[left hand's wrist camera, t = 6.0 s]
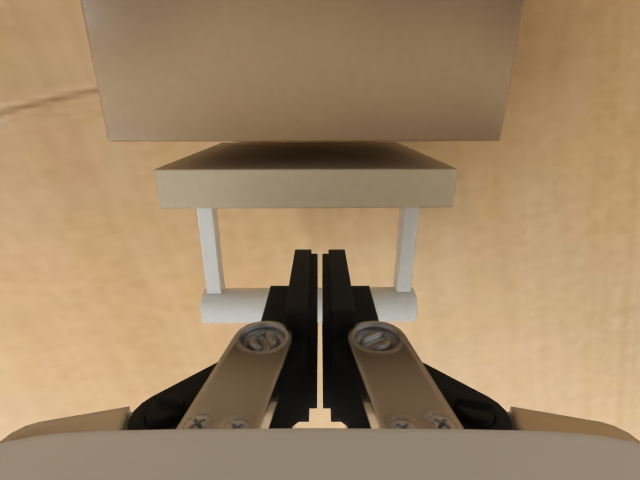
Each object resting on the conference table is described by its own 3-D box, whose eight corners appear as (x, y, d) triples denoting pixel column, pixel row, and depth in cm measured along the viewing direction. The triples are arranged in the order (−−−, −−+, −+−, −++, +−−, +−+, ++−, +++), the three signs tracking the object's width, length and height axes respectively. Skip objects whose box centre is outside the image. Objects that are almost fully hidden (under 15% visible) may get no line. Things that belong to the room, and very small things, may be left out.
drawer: (388, 262, 21) (433, 355, 13) (232, 263, 21) (183, 357, 13) (434, -356, 12) (629, -1106, 5) (174, -362, 12) (-58, -1143, 5)
